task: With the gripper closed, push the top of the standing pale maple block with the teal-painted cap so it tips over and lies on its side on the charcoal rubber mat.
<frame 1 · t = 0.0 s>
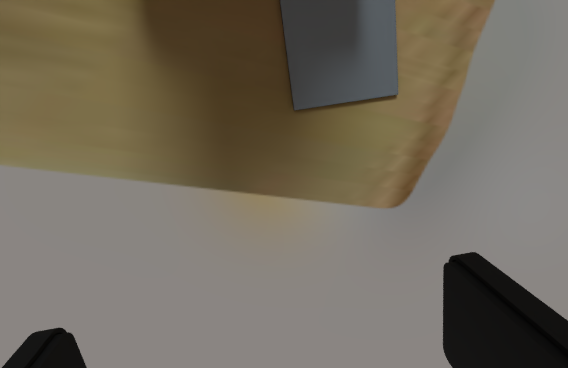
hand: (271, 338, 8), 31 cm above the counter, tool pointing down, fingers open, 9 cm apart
rubber mat: (340, 35, 36), on the counter
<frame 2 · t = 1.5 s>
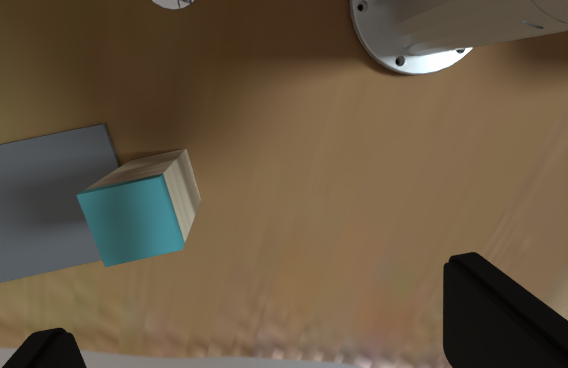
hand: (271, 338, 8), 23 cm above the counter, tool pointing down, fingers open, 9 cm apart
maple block: (166, 180, 30), on the counter
rubber mat: (49, 206, 30), on the counter
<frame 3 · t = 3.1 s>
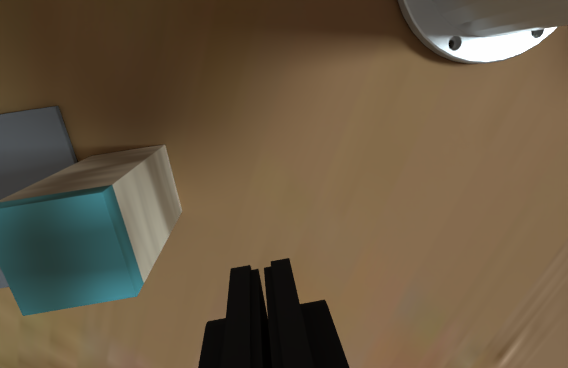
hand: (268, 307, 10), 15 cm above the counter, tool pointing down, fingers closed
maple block: (138, 184, 24), on the counter
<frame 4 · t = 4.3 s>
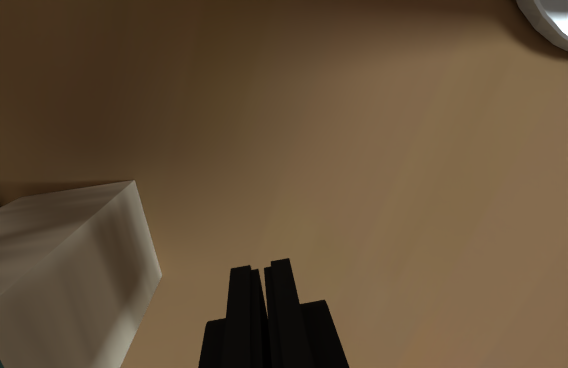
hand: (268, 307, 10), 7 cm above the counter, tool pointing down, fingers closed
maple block: (95, 238, 16), on the counter
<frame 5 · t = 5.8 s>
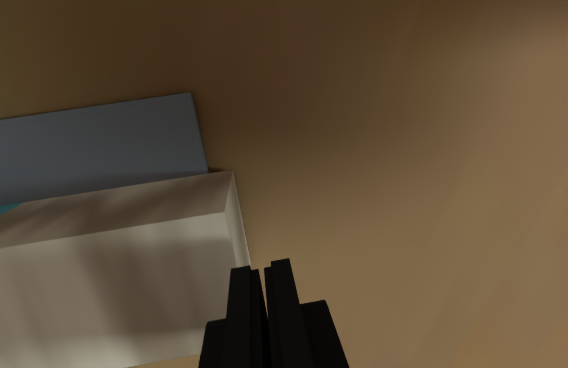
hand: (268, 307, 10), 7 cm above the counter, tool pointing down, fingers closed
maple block: (241, 246, 13), point 3 cm above the counter, tilted 90°, touching rubber mat
rubber mat: (69, 246, 16), on the counter
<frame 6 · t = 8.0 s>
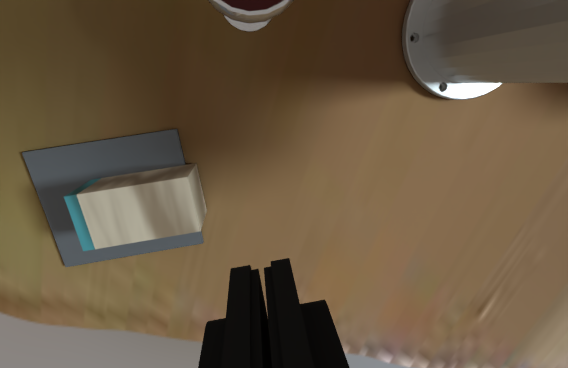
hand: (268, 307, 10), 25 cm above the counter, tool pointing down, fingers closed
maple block: (198, 195, 31), point 3 cm above the counter, tilted 90°, touching rubber mat
rubber mat: (120, 199, 33), on the counter
wineglass: (248, 0, 29), on the counter
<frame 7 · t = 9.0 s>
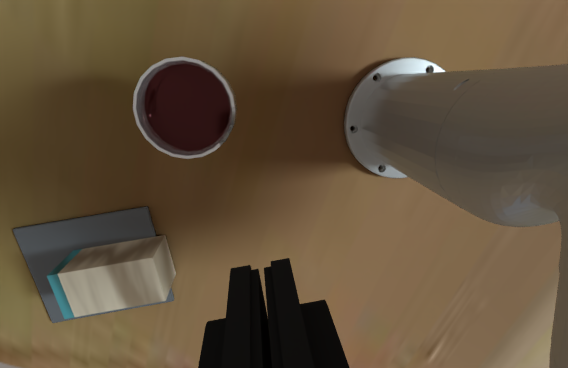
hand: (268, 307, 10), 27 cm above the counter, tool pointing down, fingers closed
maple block: (165, 266, 35), point 3 cm above the counter, tilted 90°, touching rubber mat
rubber mat: (99, 265, 38), on the counter
wineglass: (206, 100, 34), on the counter
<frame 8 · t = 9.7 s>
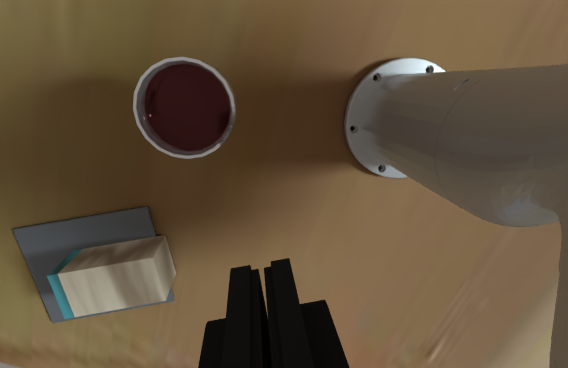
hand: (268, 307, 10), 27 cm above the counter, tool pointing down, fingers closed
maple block: (165, 266, 35), point 3 cm above the counter, tilted 90°, touching rubber mat
rubber mat: (99, 265, 38), on the counter
wineglass: (206, 100, 34), on the counter
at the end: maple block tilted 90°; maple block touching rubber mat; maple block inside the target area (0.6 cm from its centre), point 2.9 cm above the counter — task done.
